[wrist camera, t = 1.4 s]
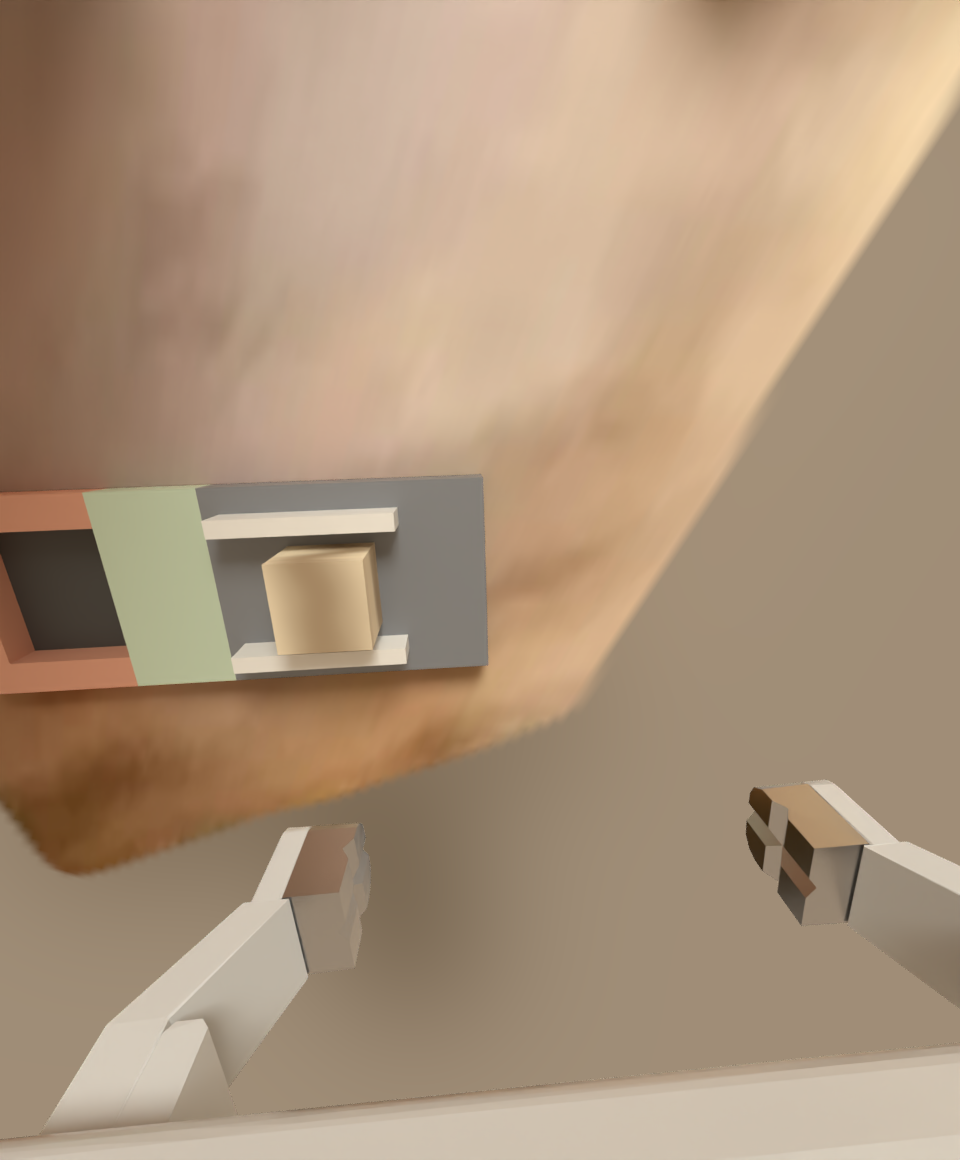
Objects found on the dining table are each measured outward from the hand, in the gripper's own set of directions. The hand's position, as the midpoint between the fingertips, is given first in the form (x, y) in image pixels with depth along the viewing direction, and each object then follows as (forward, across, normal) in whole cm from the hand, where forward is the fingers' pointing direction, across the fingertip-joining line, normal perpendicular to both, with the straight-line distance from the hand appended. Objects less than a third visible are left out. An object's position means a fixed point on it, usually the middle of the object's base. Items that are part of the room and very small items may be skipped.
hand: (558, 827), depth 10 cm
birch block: (+19, +10, 0) cm, 21 cm away
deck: (+21, +16, 0) cm, 26 cm away
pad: (+21, +20, -1) cm, 29 cm away
